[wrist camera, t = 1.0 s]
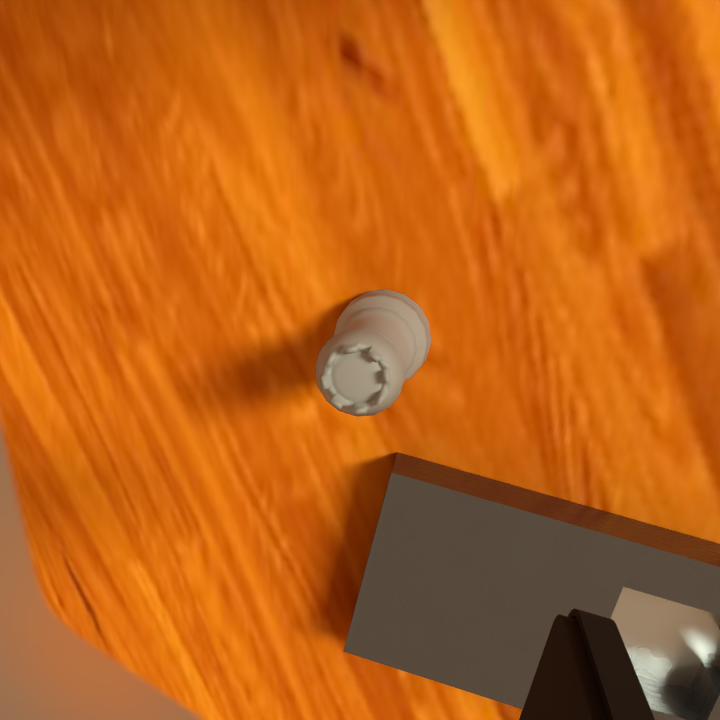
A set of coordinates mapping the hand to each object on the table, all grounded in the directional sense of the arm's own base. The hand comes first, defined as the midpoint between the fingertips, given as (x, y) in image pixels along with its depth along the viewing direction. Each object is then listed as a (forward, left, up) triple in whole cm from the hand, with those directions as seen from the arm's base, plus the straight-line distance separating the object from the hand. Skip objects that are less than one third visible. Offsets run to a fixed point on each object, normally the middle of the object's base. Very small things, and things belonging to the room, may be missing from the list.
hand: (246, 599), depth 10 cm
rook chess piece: (0, 0, -20) cm, 20 cm away
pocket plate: (+10, +14, -20) cm, 26 cm away
